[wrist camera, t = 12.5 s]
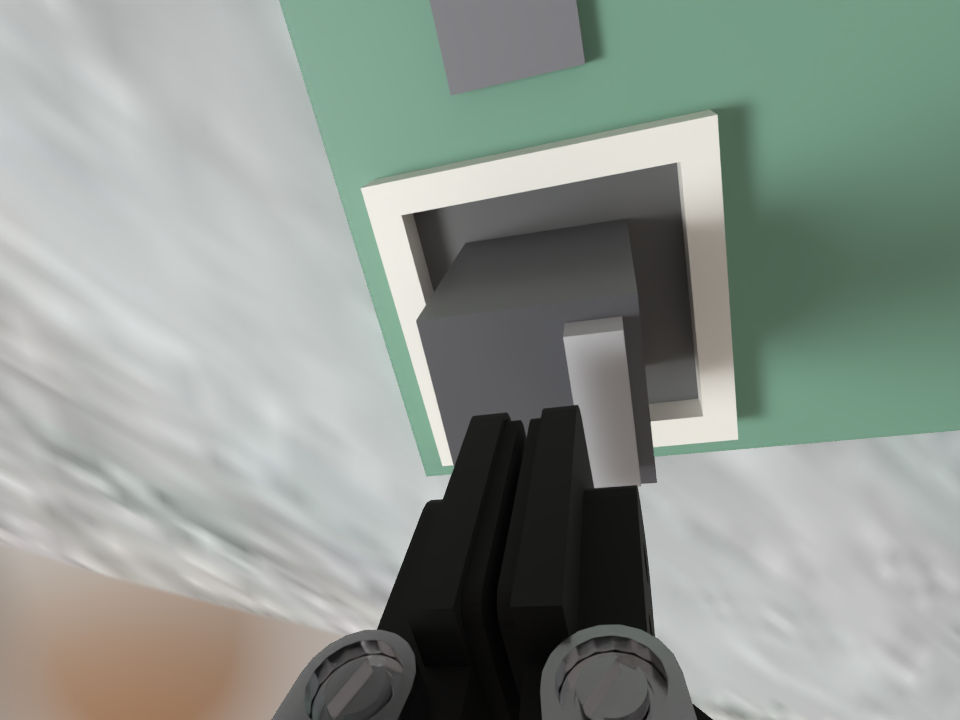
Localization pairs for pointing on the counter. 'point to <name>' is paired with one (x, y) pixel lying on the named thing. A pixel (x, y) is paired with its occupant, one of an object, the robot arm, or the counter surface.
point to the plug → (545, 341)
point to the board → (672, 190)
